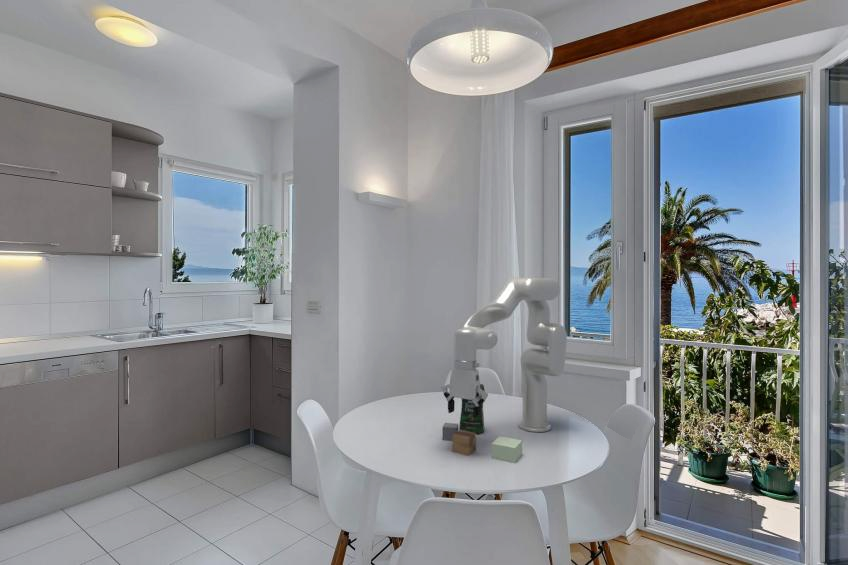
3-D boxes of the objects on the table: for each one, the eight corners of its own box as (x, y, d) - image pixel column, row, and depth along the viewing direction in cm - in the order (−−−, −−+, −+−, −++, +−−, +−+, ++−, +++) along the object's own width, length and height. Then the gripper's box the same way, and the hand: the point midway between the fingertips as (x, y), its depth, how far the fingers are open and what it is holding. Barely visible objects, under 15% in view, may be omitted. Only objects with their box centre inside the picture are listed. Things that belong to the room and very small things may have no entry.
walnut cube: (460, 446, 158) (460, 429, 158) (475, 450, 155) (476, 433, 154) (452, 452, 153) (452, 434, 153) (468, 456, 149) (468, 438, 149)
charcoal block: (444, 435, 169) (444, 422, 169) (457, 436, 168) (458, 423, 168) (442, 440, 164) (442, 426, 164) (455, 441, 163) (456, 427, 163)
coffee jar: (457, 433, 172) (458, 384, 172) (461, 426, 179) (462, 380, 179) (483, 435, 169) (483, 386, 169) (485, 428, 177) (486, 382, 177)
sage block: (499, 450, 155) (499, 436, 155) (522, 455, 151) (522, 440, 151) (491, 458, 148) (491, 443, 148) (514, 463, 144) (515, 448, 144)
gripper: (492, 366, 152) (491, 416, 152) (448, 360, 161) (447, 408, 161) (483, 369, 146) (481, 422, 145) (437, 363, 155) (436, 412, 155)
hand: (463, 414), depth 153 cm, fingers open, 9 cm apart
